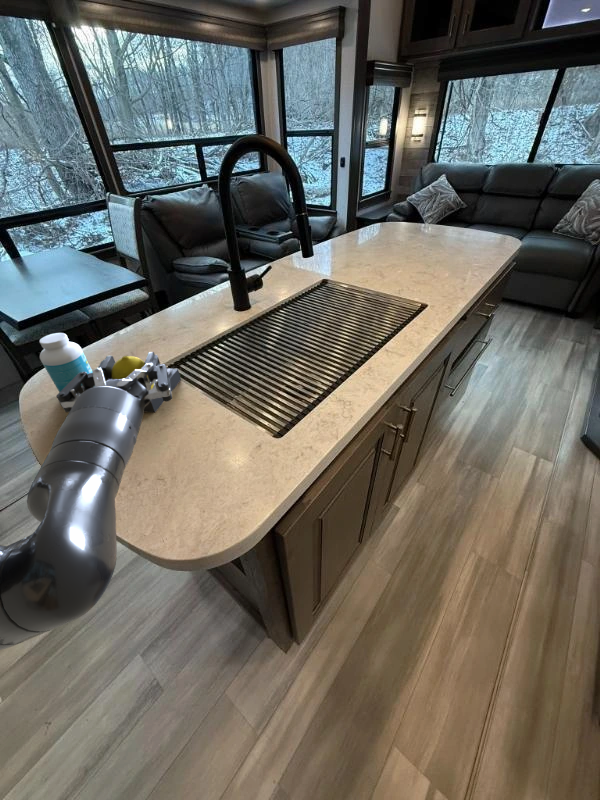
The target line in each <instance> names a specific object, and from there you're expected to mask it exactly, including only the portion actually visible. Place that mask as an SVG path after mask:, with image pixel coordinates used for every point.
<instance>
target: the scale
mask: <svg viewBox="0 0 600 800" xmlns="http://www.w3.org/2000/svg"><path fill="white" fill-rule="evenodd" d="M166 369H167V372H168V375H169V378H170V384H171V392H173V391H174V389H175V388H176V387H177V386H178V385H179V383H180V382H181V381H182V379H181V375H180V372H179V368H170V367H166ZM156 381H158V379H157V380H156ZM154 385H155V383H154ZM163 403H165V401H163V398H162V397H160V398H156V399H151V401H150V403H149V404H148V405H147V406H146V407H145V408H144V413H156V412H157V411H158V410H159V408H160V407H161V406H162V405H163Z"/></svg>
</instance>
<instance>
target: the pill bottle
mask: <svg viewBox="0 0 600 800" xmlns="http://www.w3.org/2000/svg"><path fill="white" fill-rule="evenodd" d="M69 340H70V339H69V338H68V335H67V334H66V333H64V332H55V333H50V334H47V335H45V336H43V337H41V338H40V339H39V344H40V345H41V348H43V349H42V350H41V352H40V353H39V360H40V362H41V364H42V365H43V367H44V369H45V371H46V372H47V374H48V375H49V377H50V379H51V380H52V383H53V384H54V386H55V388H56V389H57V391H58V393H59V392H60V391H61V390H62V389H63V388H64V387H65V386H66V385H67V384H68V383H69V382H70V381H71V380H72V379H73V378H74V377H75V376H76V375H77V374H78V373H80V372H87V374H89V373H93V372H92V371H93V369H92V367H91V365H90V364H89V361H88V359H87V357H86V355H85V353H84V351H83V349H82V347H81V346H80V344H78V343H76V342H73V341H69ZM81 387H83V385H82V383H81ZM94 387H95V386H94Z"/></svg>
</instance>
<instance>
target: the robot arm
mask: <svg viewBox="0 0 600 800" xmlns="http://www.w3.org/2000/svg"><path fill="white" fill-rule="evenodd" d="M159 358H160V357H159V355H158V354H155V352H154V351H149V352H147V356H146V358H145V360H144V362H145V363H144V364H145V365H144V366H143V367H142V368H141V369H140V370H134V371H133V372H132V373H131V374H130V375H129V376H127V377H126V378H122V379H112V368H113V366H114V364H115V363H116V360H115V358H114V356H113V355H106V357H105V359H103V360H101V361H100V363H99V365H98V366H97V367H96V368H94V369H92V372H93V373H89V374H87V372H80V373H78V374H77V375H76V376H75V377H74V378H73V379H72V380H71V381H70V382H69V383H68V384H67V385H66V386H65V387H64V388H63V389H62V390H61V391H60V392H59V391H58V393H57V394H56V399H57V401H58V402H59V405H60V406H61V408H62V409H63V411H64V412H65V413H68V414H67V415H66V417H65V419H64V421H63V422H62V424H61V425H60V428H59V429H58V431H57V433H56V435H55V436H54V439H53V442H52V444H51V448H50V450H49V453H48V454H47V455H46V458H45V460H44V461H43V462H42V465H41V466H40V468H39V470H38V472H37V474H36V475H35V477H34V479H33V481H32V482H31V485H30V488H29V490H28V493H27V497H26V498H27V499H26V505H27V510H28V511H29V513H30V514H31V516H32V517H33V518H34V519H35V520H37V521H38V522H40V523H39V525H38V526H37V528H36V529H35V530H34V532H33V533H32V534H30V535H28V536H26V537H24V538H22V539H19V540H17V541H14V542H13V543H10V544H9V545H3V544H2V545H1V544H0V651H1V650H5V649H9V648H11V647H14V646H18V645H19V644H21V643H25V642H26V641H29V640H31V639H34V638H36V637H38V636H41V635H43V634H46V633H48V632H50V631H53V630H56V629H57V628H60V627H63V626H65V625H68V624H70V623H73V622H75V621H76V620H78V619H80V618H81V617H83V616H84V615H86V614H87V613H88V612H90V610H92V608H93V607H94V606H96V605H97V603H98V602H99V601H100V599H101V598H102V597H103V595H104V593H105V592H106V590H107V588H108V586H109V585H110V582H111V580H112V578H113V575H114V572H115V569H116V565H117V558H118V557H117V556H118V549H117V548H118V545H117V513H116V497H117V495H118V492H119V488H120V486H121V482H122V479H123V476H124V473H125V469H126V467H127V466H128V463H129V462H130V459H131V457H132V454H133V451H134V448H135V446H136V444H137V440H138V436H139V432H140V428H141V425H142V422H143V419H144V413H145V412H144V408H145V407H146V406H147V405H148V404H149V403H150V401H151V399H156V398H160V397H162V398H163V401H164V402H170V401H171V400H172V399H173V393H172V392H173V391H172V392H171V384H170V378H169V375H168V372H167V369H166V368H167V365H166V364H164V363H161V362H160V359H159ZM147 375H148V378H147ZM157 379H158V381H156V380H157ZM81 383H82V385H83V387H81ZM153 383H155V385H154V386H153V388H152V389H151V385H152V384H153ZM94 386H95V387H94Z"/></svg>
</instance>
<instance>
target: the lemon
mask: <svg viewBox="0 0 600 800" xmlns="http://www.w3.org/2000/svg"><path fill="white" fill-rule="evenodd" d="M144 363H145V360H143V359H142V358H139V357H137V356H134V355H133V356H132V355H129V356H128V355H123V356H122V357H120V358H118V360H117V361H115V364H114V366H113V368H112V379H122V378H126V377H127V376H129V375H130V374H131V373H132V372H133V371H134V370H140V369H141V368H142V367H143V366H144V365H145V364H144ZM147 378H148V375H147ZM153 386H154V383H153V384H152V385H151V389H152V388H153Z"/></svg>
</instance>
